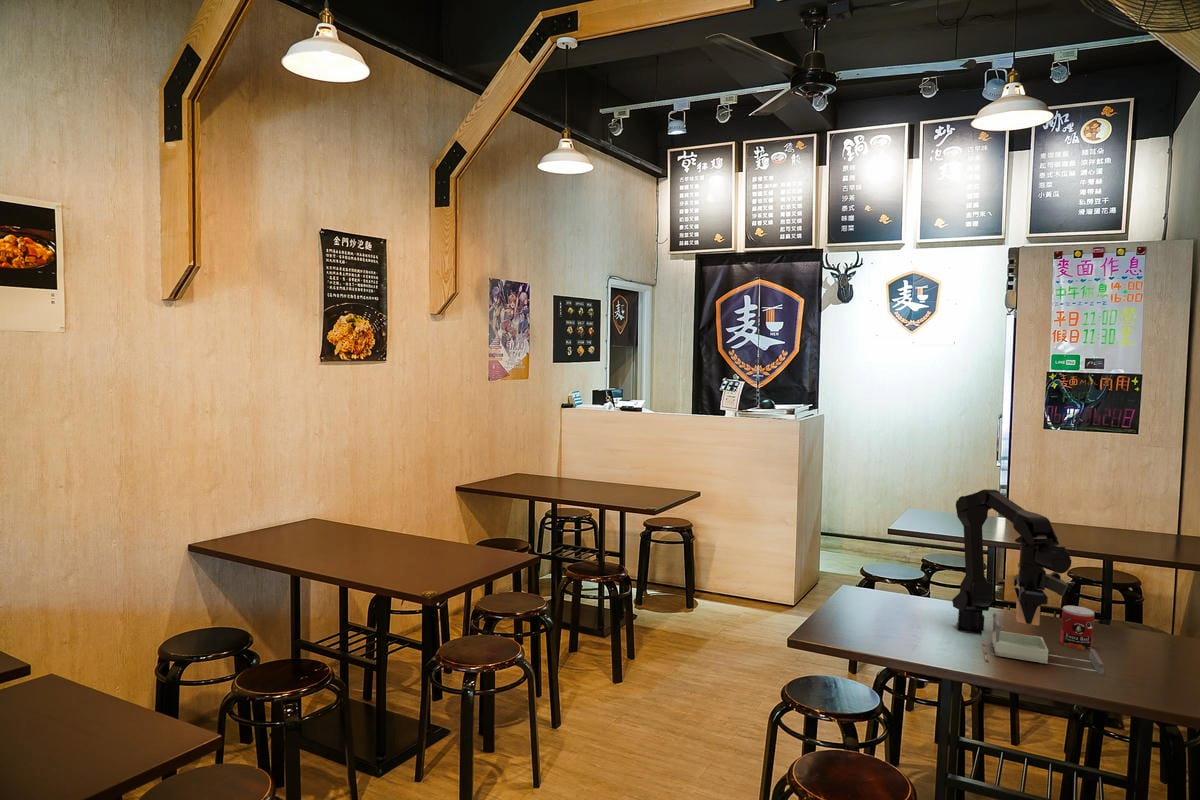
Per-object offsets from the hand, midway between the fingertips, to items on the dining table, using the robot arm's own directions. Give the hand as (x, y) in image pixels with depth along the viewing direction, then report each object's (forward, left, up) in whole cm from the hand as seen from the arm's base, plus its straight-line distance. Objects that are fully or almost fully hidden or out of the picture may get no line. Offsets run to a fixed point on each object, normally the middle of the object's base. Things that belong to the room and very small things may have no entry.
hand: (1027, 620), depth 207 cm
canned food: (+15, +17, -11) cm, 25 cm away
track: (+4, 0, -11) cm, 11 cm away
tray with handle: (-2, 0, -10) cm, 10 cm away
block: (0, 0, 0) cm, 0 cm away
